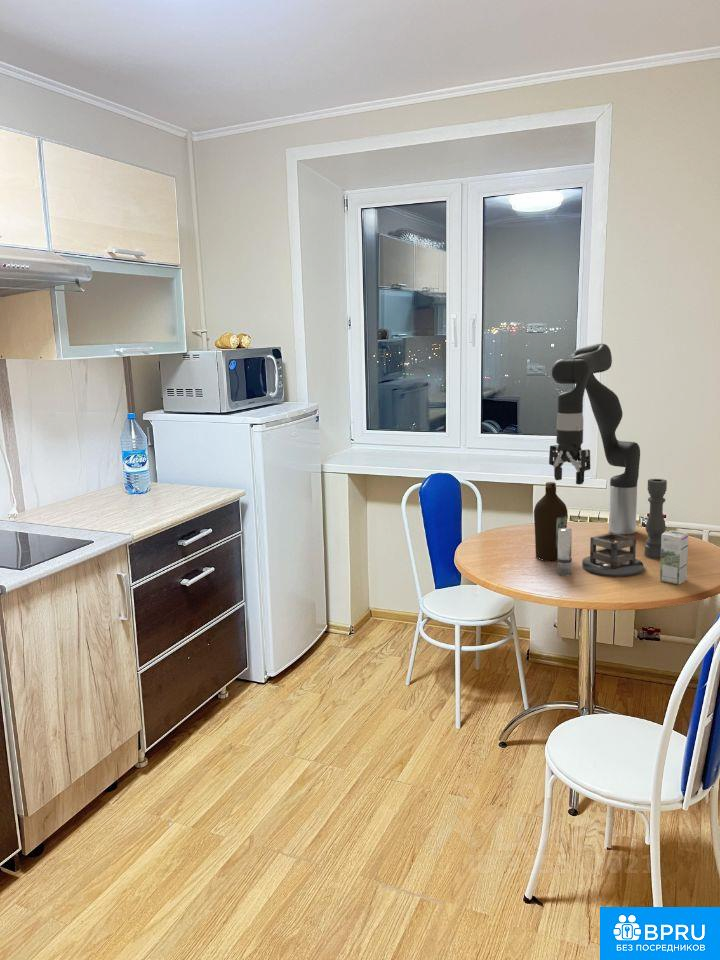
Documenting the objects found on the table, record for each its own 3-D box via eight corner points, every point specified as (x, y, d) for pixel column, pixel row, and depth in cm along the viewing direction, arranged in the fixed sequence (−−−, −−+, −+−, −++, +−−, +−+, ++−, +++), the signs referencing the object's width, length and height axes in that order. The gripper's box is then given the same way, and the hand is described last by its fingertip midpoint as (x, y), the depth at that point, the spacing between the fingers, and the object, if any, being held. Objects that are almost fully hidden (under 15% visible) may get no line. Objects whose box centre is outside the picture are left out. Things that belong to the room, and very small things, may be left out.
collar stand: (569, 565, 226) (570, 536, 225) (609, 555, 235) (610, 527, 233) (615, 580, 211) (615, 550, 209) (656, 569, 220) (657, 539, 218)
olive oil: (527, 558, 236) (527, 484, 231) (543, 550, 243) (543, 478, 239) (557, 563, 229) (558, 487, 224) (572, 555, 236) (573, 481, 232)
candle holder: (666, 558, 229) (669, 482, 224) (646, 558, 230) (648, 482, 225) (662, 553, 235) (665, 478, 230) (642, 552, 236) (645, 478, 231)
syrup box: (687, 580, 209) (689, 532, 206) (678, 585, 205) (680, 536, 202) (667, 576, 213) (669, 529, 210) (659, 581, 209) (660, 533, 206)
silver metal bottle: (555, 571, 222) (555, 528, 219) (569, 571, 221) (569, 527, 219) (559, 576, 217) (559, 531, 215) (573, 575, 217) (573, 531, 215)
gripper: (543, 427, 215) (542, 480, 218) (578, 431, 203) (577, 487, 206) (561, 425, 218) (560, 477, 221) (597, 428, 206) (596, 484, 209)
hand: (568, 482), depth 213 cm, fingers open, 8 cm apart
